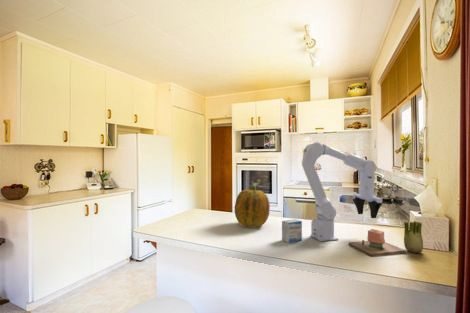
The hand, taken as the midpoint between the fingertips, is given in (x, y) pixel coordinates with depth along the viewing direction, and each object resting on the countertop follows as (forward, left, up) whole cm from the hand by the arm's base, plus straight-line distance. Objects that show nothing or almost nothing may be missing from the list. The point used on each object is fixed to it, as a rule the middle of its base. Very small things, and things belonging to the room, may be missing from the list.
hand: (366, 215), depth 104 cm
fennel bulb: (+6, -17, -11) cm, 21 cm away
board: (-6, -11, -10) cm, 16 cm away
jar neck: (-6, -11, -10) cm, 16 cm away
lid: (-6, -11, -7) cm, 15 cm away
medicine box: (-35, +5, -11) cm, 37 cm away
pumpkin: (-46, +29, -11) cm, 55 cm away
